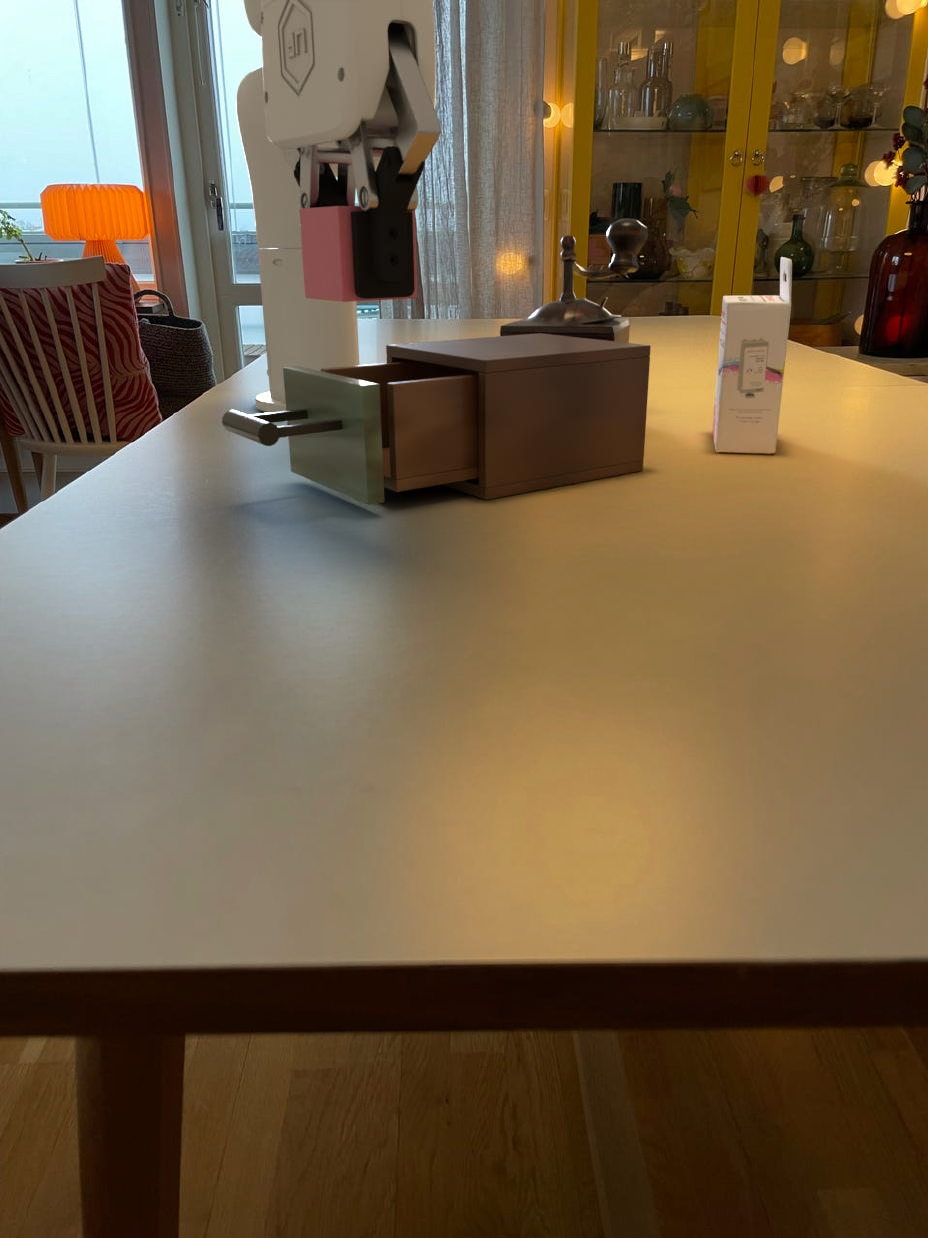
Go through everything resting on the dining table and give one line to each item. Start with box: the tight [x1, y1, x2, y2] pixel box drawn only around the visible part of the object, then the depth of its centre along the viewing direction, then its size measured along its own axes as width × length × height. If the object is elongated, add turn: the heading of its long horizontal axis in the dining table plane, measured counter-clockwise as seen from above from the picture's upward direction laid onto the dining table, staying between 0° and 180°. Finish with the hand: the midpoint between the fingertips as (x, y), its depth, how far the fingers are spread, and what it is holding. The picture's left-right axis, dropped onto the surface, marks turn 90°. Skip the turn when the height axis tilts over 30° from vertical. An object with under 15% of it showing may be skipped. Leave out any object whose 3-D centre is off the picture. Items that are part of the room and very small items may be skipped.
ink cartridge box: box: [711, 256, 793, 455], centre depth 76 cm, size 9×5×15 cm, turn 168°
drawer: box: [221, 361, 479, 505], centre depth 63 cm, size 19×11×7 cm, turn 125°
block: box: [299, 205, 418, 302], centre depth 49 cm, size 4×4×4 cm
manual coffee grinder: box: [499, 217, 649, 343], centre depth 87 cm, size 16×11×18 cm
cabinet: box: [385, 333, 651, 501], centre depth 70 cm, size 15×13×9 cm
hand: (360, 291), depth 49 cm, fingers closed on block, 4 cm apart
